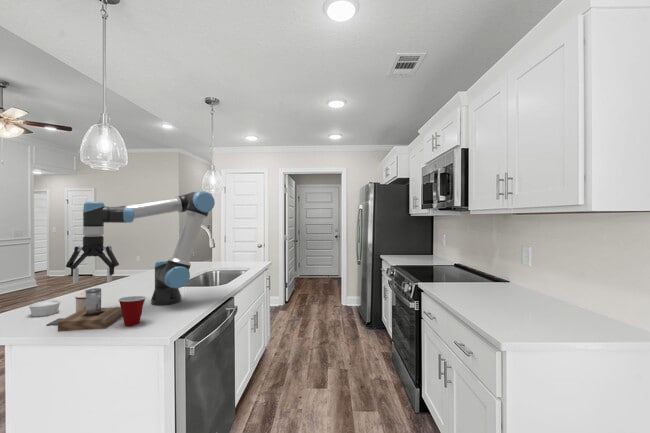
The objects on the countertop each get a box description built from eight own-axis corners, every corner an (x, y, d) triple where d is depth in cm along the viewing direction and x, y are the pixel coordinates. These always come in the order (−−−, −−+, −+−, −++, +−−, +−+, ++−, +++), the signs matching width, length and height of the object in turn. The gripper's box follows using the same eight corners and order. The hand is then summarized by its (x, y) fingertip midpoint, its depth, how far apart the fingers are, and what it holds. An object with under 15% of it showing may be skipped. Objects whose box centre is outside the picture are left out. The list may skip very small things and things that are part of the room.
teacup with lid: (85, 316, 148) (85, 292, 148) (70, 315, 149) (70, 291, 149) (107, 309, 159) (107, 286, 159) (93, 307, 161) (93, 285, 161)
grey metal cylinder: (103, 320, 143) (103, 287, 143) (97, 324, 137) (97, 290, 137) (90, 320, 142) (90, 288, 142) (83, 325, 136) (83, 291, 136)
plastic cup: (151, 320, 143) (151, 294, 143) (135, 328, 132) (135, 300, 132) (129, 319, 144) (129, 293, 144) (112, 327, 133) (112, 300, 133)
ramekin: (65, 311, 155) (65, 301, 155) (40, 318, 145) (40, 307, 145) (49, 309, 158) (49, 299, 158) (23, 316, 148) (23, 305, 148)
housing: (124, 314, 150) (124, 306, 150) (105, 328, 133) (105, 319, 133) (82, 317, 147) (82, 308, 147) (57, 331, 129) (57, 321, 129)
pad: (77, 318, 145) (77, 317, 145) (67, 324, 137) (67, 323, 137) (58, 319, 143) (58, 318, 143) (46, 325, 135) (46, 324, 135)
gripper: (127, 235, 145) (126, 280, 145) (67, 235, 141) (66, 281, 141) (120, 236, 138) (119, 283, 138) (56, 236, 133) (55, 285, 133)
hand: (92, 282), depth 139 cm, fingers open, 13 cm apart
